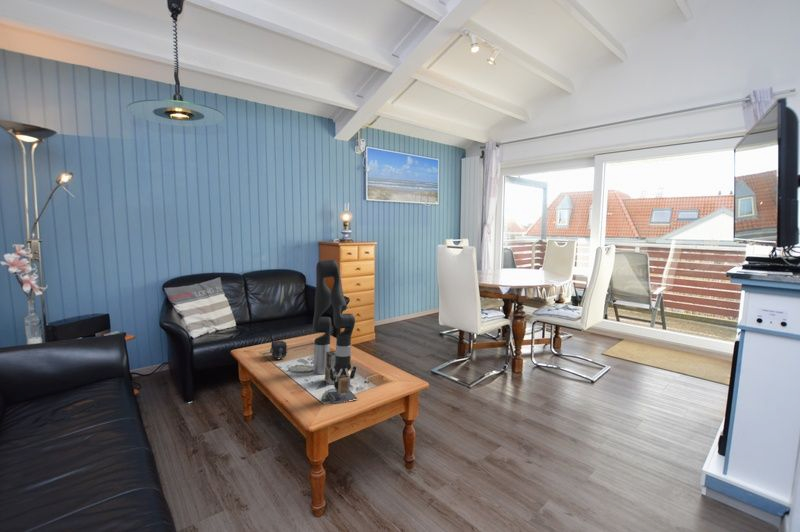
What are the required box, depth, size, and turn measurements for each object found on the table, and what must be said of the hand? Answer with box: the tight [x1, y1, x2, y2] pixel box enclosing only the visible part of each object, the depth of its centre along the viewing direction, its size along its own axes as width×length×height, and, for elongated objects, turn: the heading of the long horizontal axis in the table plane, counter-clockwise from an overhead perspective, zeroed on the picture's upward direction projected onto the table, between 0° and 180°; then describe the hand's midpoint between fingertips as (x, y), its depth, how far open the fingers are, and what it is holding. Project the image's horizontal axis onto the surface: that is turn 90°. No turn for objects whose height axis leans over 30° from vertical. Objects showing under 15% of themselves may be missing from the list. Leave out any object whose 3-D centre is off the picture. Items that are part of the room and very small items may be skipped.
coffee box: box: [324, 350, 336, 386], centre depth 203 cm, size 9×6×16 cm
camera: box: [269, 340, 288, 359], centre depth 244 cm, size 11×11×15 cm
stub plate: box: [326, 389, 358, 405], centre depth 181 cm, size 12×12×7 cm
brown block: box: [334, 374, 350, 394], centre depth 180 cm, size 7×5×8 cm
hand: (341, 387), depth 180 cm, fingers closed on brown block, 5 cm apart
